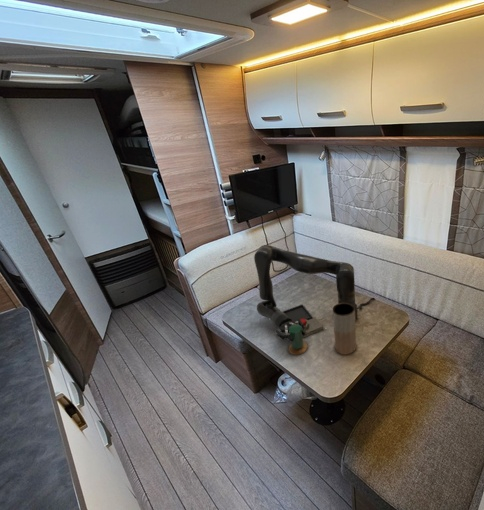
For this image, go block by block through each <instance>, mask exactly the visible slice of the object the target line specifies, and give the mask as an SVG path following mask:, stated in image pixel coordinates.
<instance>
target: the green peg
mask: <svg viewBox="0 0 484 510" xmlns="http://www.w3.org/2000/svg"><path fill="white" fill-rule="evenodd" d="M288 335H290V336H291V337H292V338H293V342H290V345H291V347H292V348H293V349H300V348H302V347H303V345H304V343H303V341H304V337H303V335H302V327H301V326H300V325H298V324H295V325H292V326H290V328H289V333H288Z"/></svg>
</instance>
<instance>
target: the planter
mask: <svg viewBox="0 0 484 510" xmlns="http://www.w3.org/2000/svg"><path fill="white" fill-rule="evenodd" d="M332 319H333V333H334V335H333V336H334V346H335V347H334V348H335V350H336V351H337V352H338V354H340V355H349V354H352V353H354V352H355V350H356V348H357V340H356V339H357V338H356V337H357V336H356V335H357V334H356V320H355V308H354V306H353V305H352V304H350V303H339V304H338V303H336V304H335V305H334V306H333V307H332Z"/></svg>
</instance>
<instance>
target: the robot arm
mask: <svg viewBox="0 0 484 510" xmlns="http://www.w3.org/2000/svg"><path fill="white" fill-rule="evenodd" d="M253 259H254V264H255V268H256V272H257V273H256V274H257V277H258V291H259V298H260V299H261V300H262V301H260V302H258V303H257V305H256V311H257V313H258V314H259V315H260V316H261V317H264V318H267V319H269V320H270V321H271V322H272V324H273V325H274V326H275V327H276V328H277V329H276V330H275V336H277V337H278V338H279V339H280V340H282V341H284V340H288V341H289V342H290V343H291V342H293V338H292V337H291V336H290V334H289V328H290V326H292V325H295V324H298V325H300V326H301V327H302V334H303V335H305V334H306V333H305V330H304V324H303V323H302V321H301V320H300V319H298V321H296V322H294V321H292V320H291V319H290V318H289V317H288V316H287V315H286V314H285V313H284V312H282V310H281V309H280V308H279V307H277V306H278V305H277V302H276V300H275V297H274V286H273V281H272V279H271V274H270V273H271V272H270V271H271V266H272V265H271V264H272V263H273V262H276V263H282V264H284V265H287V266H288V267H289V268H291V269H293V270H294V271H295V272H299V273H302V274H308V275H317V274H330V275H335V281H336V291H337V304H339V303H350V304H352V305H353V306H354V308H355V321H356V320H358V309H360V310H362V306H366V305H369V303H370V302H371V301H372V300H375V299H376V297H371V298H370V299H368V301H367V302H364V303H360V304H359V306H358V304H356V287H355V268H354V266H353V265H352V264H351V263H348V262H345V261H335V260H329V259H325V258H320V257H315V256H312V255H308V254H303V253H299V252H293V251H289V250H285V249H283V248H280V247H277V246H273V245H270V244H263V245H260V247H258V249H257V250H256V251H255V253H254V256H253Z"/></svg>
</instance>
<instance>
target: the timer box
mask: <svg viewBox="0 0 484 510" xmlns="http://www.w3.org/2000/svg"><path fill="white" fill-rule="evenodd" d="M305 320H306V319H305ZM304 330H305V333H306V334H305V335H303V334H302V335H303V338H307V337H309V336H312V335H314V334H316V333H319V332H321V331H323V330H324V325H322V323H321V322H320V321H319V320H318V318H317V317H312V319H310V320H306V324H305V325H304Z"/></svg>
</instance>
